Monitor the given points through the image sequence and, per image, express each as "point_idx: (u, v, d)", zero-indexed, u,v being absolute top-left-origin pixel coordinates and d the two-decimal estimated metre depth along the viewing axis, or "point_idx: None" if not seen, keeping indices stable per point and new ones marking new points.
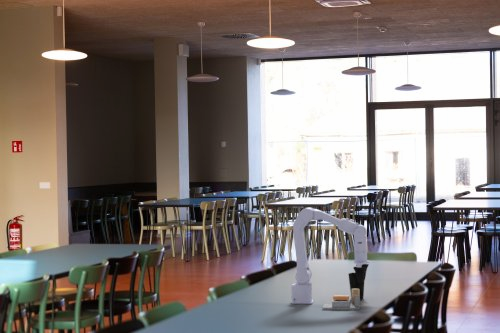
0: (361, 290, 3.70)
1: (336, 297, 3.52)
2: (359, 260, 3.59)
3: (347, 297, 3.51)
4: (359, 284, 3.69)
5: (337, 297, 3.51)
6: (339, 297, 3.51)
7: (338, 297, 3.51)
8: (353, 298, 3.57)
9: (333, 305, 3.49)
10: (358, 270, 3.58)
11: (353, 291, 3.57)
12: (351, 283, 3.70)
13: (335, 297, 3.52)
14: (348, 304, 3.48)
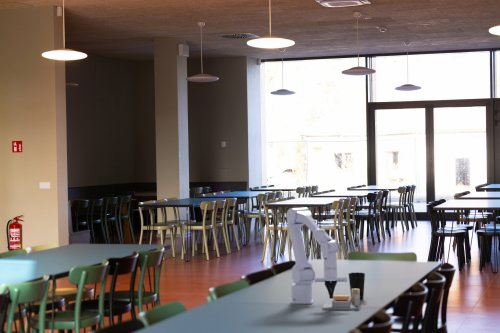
0: (361, 290, 3.70)
1: (336, 297, 3.51)
2: None
3: (347, 297, 3.51)
4: (359, 284, 3.69)
5: (337, 297, 3.51)
6: (339, 297, 3.51)
7: (338, 297, 3.51)
8: (353, 298, 3.57)
9: (333, 305, 3.49)
10: None
11: (353, 291, 3.57)
12: (351, 283, 3.70)
13: (335, 297, 3.52)
14: (348, 304, 3.48)
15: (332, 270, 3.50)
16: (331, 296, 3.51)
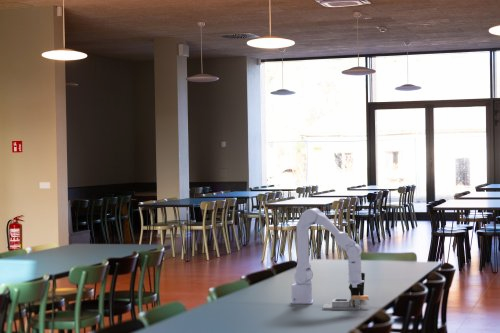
0: (361, 290, 3.70)
1: None
2: (354, 280, 3.56)
3: (366, 297, 3.49)
4: None
5: None
6: None
7: None
8: None
9: (333, 305, 3.49)
10: (353, 289, 3.56)
11: None
12: None
13: (354, 297, 3.50)
14: (348, 304, 3.48)
15: None
16: None
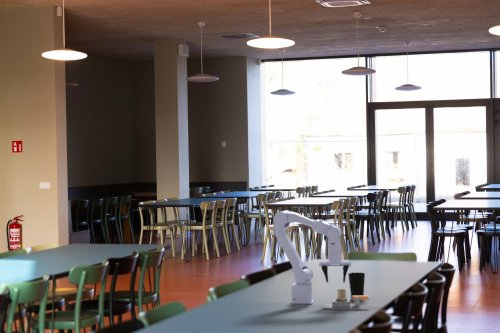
0: (361, 290, 3.70)
1: None
2: None
3: (366, 297, 3.49)
4: (359, 284, 3.69)
5: None
6: None
7: None
8: (339, 299, 3.51)
9: (333, 305, 3.49)
10: None
11: (339, 292, 3.50)
12: (351, 283, 3.70)
13: (354, 297, 3.50)
14: (348, 304, 3.48)
15: (336, 255, 3.59)
16: (343, 280, 3.60)
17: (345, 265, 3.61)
